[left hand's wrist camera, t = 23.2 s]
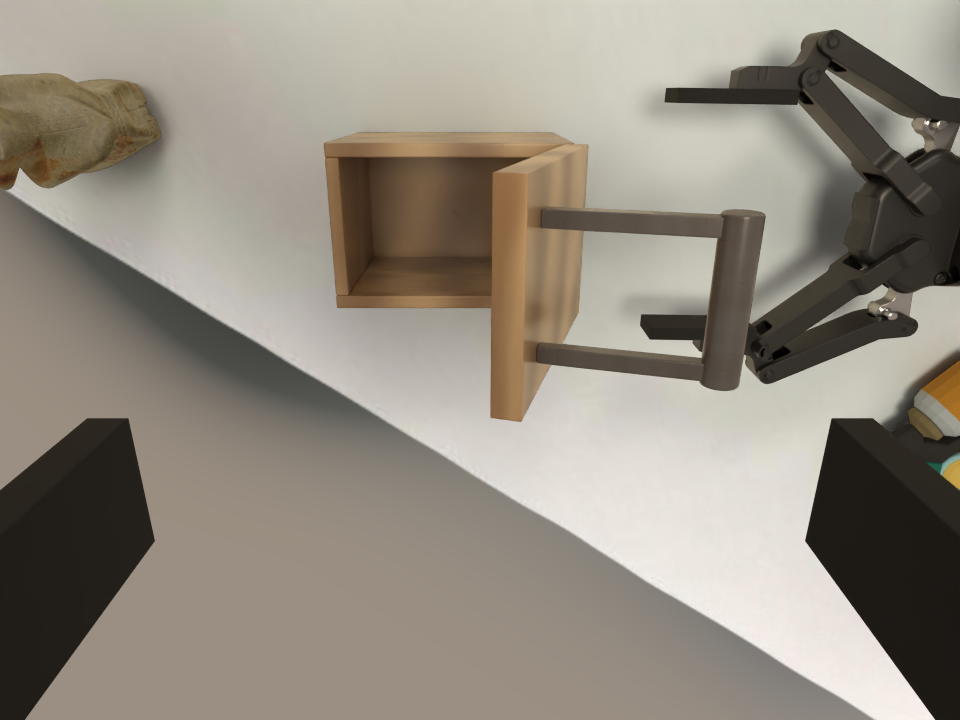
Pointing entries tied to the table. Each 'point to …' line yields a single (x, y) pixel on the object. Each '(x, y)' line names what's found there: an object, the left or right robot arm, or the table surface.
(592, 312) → the table surface
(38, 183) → the sculpture
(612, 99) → the table surface
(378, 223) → the chest
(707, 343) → the lid
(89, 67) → the table surface
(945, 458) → the spray gun
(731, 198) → the table surface
